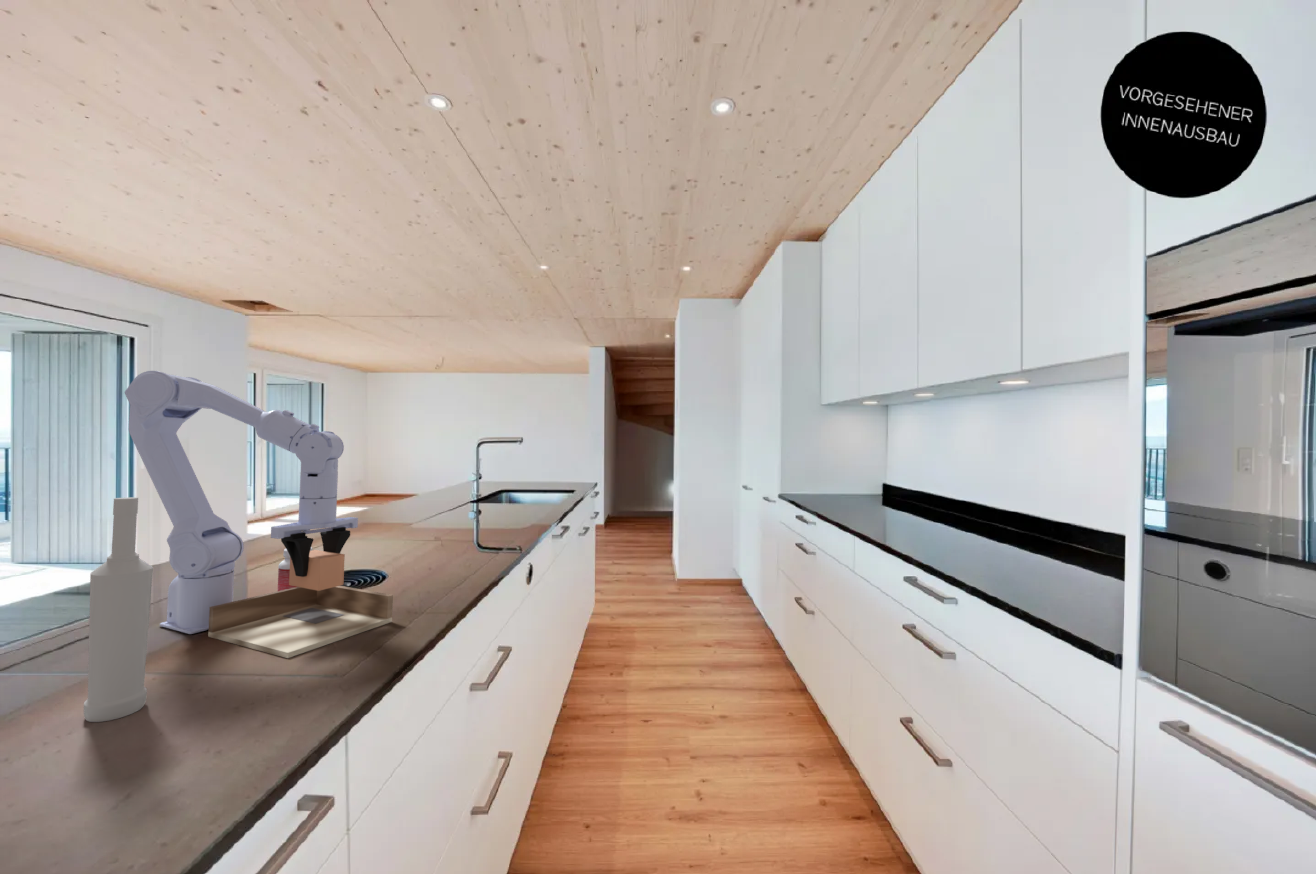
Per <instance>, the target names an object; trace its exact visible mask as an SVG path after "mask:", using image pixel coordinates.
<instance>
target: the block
mask: <svg viewBox="0 0 1316 874" xmlns="http://www.w3.org/2000/svg"><path fill="white" fill-rule="evenodd" d="M345 555H346V554H344V553H340V554H339V553H332V552H326V551H323V550H319V549H318V550H317V549H314V550H313V549H312V551H310V553H309V562H308V573H307V576H305V577H300V576H296V575H295V570H294V566H293V563H292V560H291V557H290V574H289V585H292V586H297V587H302V588H307V589H312V590H317V591H320V590H324V589H328V588H332V587H336V586H344V582H345V581H344V580H345V579H344V578H345V576H344V575H345V560H346V559H345Z"/></svg>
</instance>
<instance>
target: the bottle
mask: <svg viewBox="0 0 1316 874" xmlns="http://www.w3.org/2000/svg"><path fill="white" fill-rule="evenodd" d="M112 508H113V511H112V515H113V521H112V522H113V523H112V537H111V539H112V541H111V554H110V555H109V556H107V557H106V561H104V562H103V563H102V564H100V566H98V567H97V568H96V569H94V570H92V571H91V572H90V576H89V577H90V580H89V581H90V582H89V583H90V584H89V619H88V620H89V623H88V628H89V629H88V630H89V631H88V662H87V663H88V664H87V665H88V668H87V669H88V670H87V672H88V673H87V674H88V675H87V699H86V700H85V701H84V702H83V716H84V719H85V721H87V722H89V723H102V722H106V721H107V722H108V721H112V720H117V719H120V718H124V717H127V716H129V715H132V714H134V713H136V712H138V711H140V710H141V709H142V708H143V707H144V706H145V703H146V701H147V695H148V691H147V690H148V689H147V687H146V686H145V677H146V664H147V651H148V637H149V624H150V613H151V612H150V610H151V598H152V596H151V595H152V586H153V585H152V583H153V574H154V573H153V571H154V567H153V566H152V565H151V564H149V563H148V562H146V561H144V560H143V559H142V558H140V554H138V553H137V552H136V545H137V544H136V540H137V518H138V517H137V516H138V512H139V511H138V509H139V497H137V496H136V497H134V496H133V497H131V496H129V497H115V498H113V507H112Z"/></svg>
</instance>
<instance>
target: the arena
mask: <svg viewBox="0 0 1316 874" xmlns="http://www.w3.org/2000/svg"><path fill="white" fill-rule="evenodd" d="M393 601H394V595H393V594H390V593H384V592H379V591H374V590H373V591H371V590H367V589H361V588H355V587H349V586H345V585H340V586H336V587H332V588H328V589H324V590H320V591H317V590H312V589H307V588H302V587H294V588H290V589H286V590H281V591H274V592H269V593H265V594H260V595H257V596H256V595H255V596H251V597H248V598H243V599H239V600H233V602H229V603H225V604H221V605H216V606H212V607H210V610H209V630H208V632H207V633H208V634H207V635H208V638H212V639H215V640H219V641H223V642H226V643H231V644H234V645H238V646H241V647H244V648H249V649H252V650H255V651H256V650H257V651H259V652H263V653H267V654H271V655H275V656H278V657H282V658H286V659H289V658H293V657H295V656H298V655H301V654H304V653H307V652H310V651H312V650H315V649H318V648H321V647H324V646H326V645H329V644H332V643H336V642H338V641H341V640H344V639H346V638H347V639H348V638H349V637H352V636H356V635H359V634H361V633H364V632H367V631H369V630H372V629H375V628H379V627H382V626H384V625H387V624H389V623H392V622H393V607H394V606H393V604H394V602H393Z"/></svg>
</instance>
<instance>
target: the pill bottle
mask: <svg viewBox="0 0 1316 874" xmlns="http://www.w3.org/2000/svg"><path fill="white" fill-rule="evenodd" d="M312 550H313V547H312V546H311V549H310V551H312ZM283 558H284V559H283V560H282V561H281V562H280V563H279V564H278V567H277V568H278V570H277V571H278V573H277V575H278V576H277V591H281V590H286V589H290V588H294V587H297V586H292V585H289V574H290V555H289V553H288V551H287V549H286V548H284V549H283ZM277 591H276V592H277Z"/></svg>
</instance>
